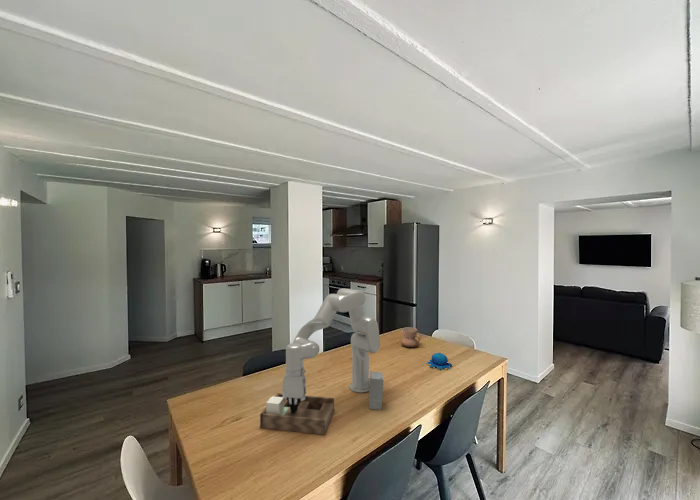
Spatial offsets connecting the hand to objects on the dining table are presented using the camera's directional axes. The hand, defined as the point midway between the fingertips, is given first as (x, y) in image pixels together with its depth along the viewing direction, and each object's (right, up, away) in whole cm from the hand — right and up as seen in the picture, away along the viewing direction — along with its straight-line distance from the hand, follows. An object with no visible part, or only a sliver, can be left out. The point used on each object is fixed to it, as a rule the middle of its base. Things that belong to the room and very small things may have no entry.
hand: (293, 411), depth 133 cm
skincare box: (+39, -6, +15) cm, 42 cm away
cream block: (-9, -1, 0) cm, 9 cm away
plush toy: (+87, -6, +69) cm, 111 cm away
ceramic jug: (+76, -6, +109) cm, 132 cm away
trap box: (+3, -5, +4) cm, 7 cm away
